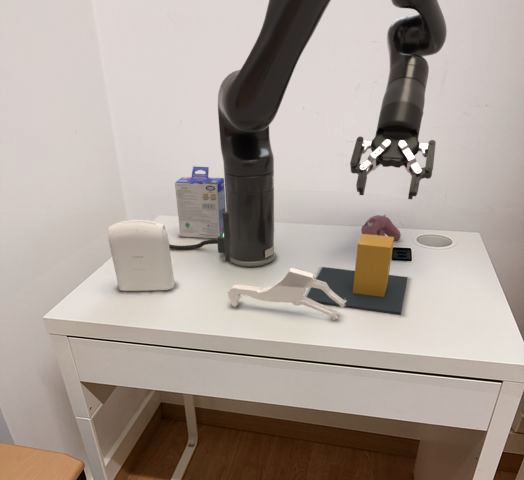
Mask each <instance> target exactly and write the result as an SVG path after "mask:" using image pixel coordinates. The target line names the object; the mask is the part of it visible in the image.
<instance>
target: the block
mask: <svg viewBox="0 0 524 480" xmlns="http://www.w3.org/2000/svg"><path fill="white" fill-rule="evenodd" d="M394 242H395V240H394V237H390V236H388V235H385V236H379V235H369V234H362V233H361V236H360V238H359V240H358V242H357V245H356V246H357V248H356V257H355V267H354V271H355V276H354V286H353V293H356V294H364V295H371V296H379V297H384V296H385V292H386V288H387V284H388V277H389V275H390V270H391V261H392V255H393V248H394V244H395V243H394Z"/></svg>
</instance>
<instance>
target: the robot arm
mask: <svg viewBox="0 0 524 480" xmlns="http://www.w3.org/2000/svg"><path fill="white" fill-rule="evenodd" d="M331 1H332V0H268V3H267V8H266V11H265V16H264V20H263V22H262V25H261V29H260V31H259V34H258V35H257V39H256V41H255V43H254V45H253V46H252V49H250V52H249V54H248V55H247V58H246V60H245V61H244V63H243V65H242V66H241V68H240V69H238V70H237V69H236V70H233V71H232V72H230V73H229V74H227V76H226V77H225V78H223V80H222V82H221V84H220V86H219V89H218V93H217V115H218V117H217V118H218V130H219V131H218V132H219V140H220V141H219V142H220V152H221V156H222V161H223V174H224V175H223V178H224V189H225V206H226V212H225V213H224V214H223V230H224V232H223V233H222V234H221V235H220V236H219V237H217V239H207V240H202V241H200V242H198V243H197V244H188V245H187V244H186V245H177V244H170V243H169V248H170V250H176V251H177V250H185V251H186V250H195V249H200V248H202V247H204V246H206V245H217V253H218V254H224V261H226V262H230V263H232V264H234V265H236V266H239V267H246V268H247V267H248V268H249V267H261V266H265V265H268V264H270V263H272V262H273V261H274V260H275V157H274V152H273V149H272V146H271V145H272V144H271V139H270V137H271V136H270V125H271V124H272V123H273V121H274V120H275V118H276V116H277V114H278V111H279V109H280V106H281V104H282V101H283V100H284V96H285V94H286V91H287V88H288V87H289V84H290V81H291V78H292V76H293V73H294V71H295V69H296V66H297V64H298V63H299V61H300V58H301V56H302V54H303V52H304V50H305V48H306V47H307V45H308V43H309V42H310V40H311V38H312V36H313V35H314V33H315V31H316V29H317V28H318V26H319V23H320V22H321V19H322V18H323V16H324V14H325V12H326V10H327V8H328V7H329V5H330V3H331ZM390 2H391V3H392V5H393V6H394V7H395V8H400V9H410V10H414V11H416V12H417V13H414V14H409V15H404V16H400V17H398V18H396V19H395V20H393V21H392V23H391V24H390V26H389V28H388V30H387V33H386V45H387V51H388V59H389V60H388V61H389V70H388V71H389V72H388V78H387V83H386V88H385V92H384V95H383V98H382V101H381V106H380V111H379V116H378V121H377V127H376V132H375V136H374V138H373V139H372V140H365V139H364V137H363V136H358V137H357V138H356V140H355V144H354V148H353V151H352V154H351V158H350V162H349V166H350V172H351V174H356V175H357V180H356V192H358V194H359V196H364V195H365V191H366V185H367V180H368V175H369V174H370V173H371V172H372V171H376V169H378V167H380V165H381V166H382V167H383V168H387V167H388V168H389V167H393V168H401V167H404V169H405V170H406V172H407V173H408V174H410V176H411V178H410V179H411V180H410V184H409V190H408V197H407V200H413V197H417V195H418V193H419V189H420V181H421V180H423V179H428V180H429V179H431V178H432V175H433V171H434V163H435V153H436V143H437V142H436V140H434V139H430V140H429V141H428V142H425V143H424V142H420V141H419V137H420V130H421V126H422V125H421V124H422V120H423V116H424V109H425V101H426V99H425V98H426V89H427V84H428V79H429V72H430V66H429V63H428V61H427V59H426V58H424V57H429V56H433V55H436V54H437V53H439V52H440V51H441V49H443V47H444V45H445V43H446V40H447V32H448V31H447V23H446V19H445V16H444V14H443V12H442V9H441V6H440V4H439V1H438V0H390ZM370 149H371V150H370ZM368 150H370V151H371V153H370V154H369V155H368V157H367V158H366V159H365V160H364V161H363V162H362V163H361V160H362V157H363V155H365V154H366V153H367V151H368ZM419 152H421V156H422V157H424V158H425V166H424V167H421V166H420V165H419V163H418V162H417V158H416V157H415V156H416V155H417V154H418V153H419Z"/></svg>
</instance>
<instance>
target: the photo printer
mask: <svg viewBox="0 0 524 480" xmlns="http://www.w3.org/2000/svg"><path fill="white" fill-rule="evenodd" d="M107 239H108V240H107V241H108V244H109V249H110V254H111V258H112V263H113V268H114V273H115V276H116V283H117V287H118V289H119V290H120V291H123V292H126V291H127V292H128V291H129V292H132V291H133V292H134V291H135V292H136V291H137V292H138V291H139V292H140V291H141V292H142V291H166V290H172V289H173V288H174V287H175V283H176V282H175V277H174V276H175V275H174V269H173V263H172V256H171V249H170V248H169V244H170V242H169V241H170V240H169V235H168V232H167V229H166V225H164V224H163V223H160V222H157V221H153V220H148V219H129V220H123V221H119V222H116V223H113V224H111V225H110V226H109V227H108V228H107Z"/></svg>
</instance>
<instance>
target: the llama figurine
mask: <svg viewBox="0 0 524 480" xmlns="http://www.w3.org/2000/svg"><path fill="white" fill-rule="evenodd" d="M316 278H317V276H316V275H315V273H313V272H309V271H305V270H301V269H297V268H294V267H290V268H289V270H288V271H287V273H286V274H285V276H283V277H281V278H280V279H279V280H278V281H276V282H274V283H273V284H272V285H270V286H268V287H264V288H261V287H259V286H253V285H244V284H234V285H232V286H231V287H230V288H229V290H228V291H227V295H228V299H229V300H230V303H231V306H232V307H234V308H237V306H238V305H239V301H240V299H241V298H242V296H245V297H250V298H253V299H255V300H258V301H264V302H270V303H286V304H292V305H294V306H305V307H308V308H310V309H313V310H316V311H318V312H320V313H323V314H325V315H328V316H330V317H332V320H333V321H334V320H337V319H339V316H338V315H340V312H339V311H338V310H335V309H333V308H331V307H330V306H329V307H328V306H326V305H325V304H321V303H317V302H315V301H313V300H311V299H310V298H308V297H307V296H304V295H305V292H306V290H307V288H312V287H313V288H318V289H321V290H323V291H324V292H325V293H326V294H327V295H328V296H329V297H330V298H331V299H332V300H334V301H335V302H336V303H338V304H339V305H340V306H338V307H339V308H340V307H341V309H343V308H345V307H344V306H345V305H344V304H345V302H346V301H347V300H345V299H344V300H343V299H342V298H340V297H339V296H338V295H337V294H335V293H334V292H333V291H332V290H331V289H330V288H329V287H328V285H327V283H326V282H323V281H319V280H316Z"/></svg>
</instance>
